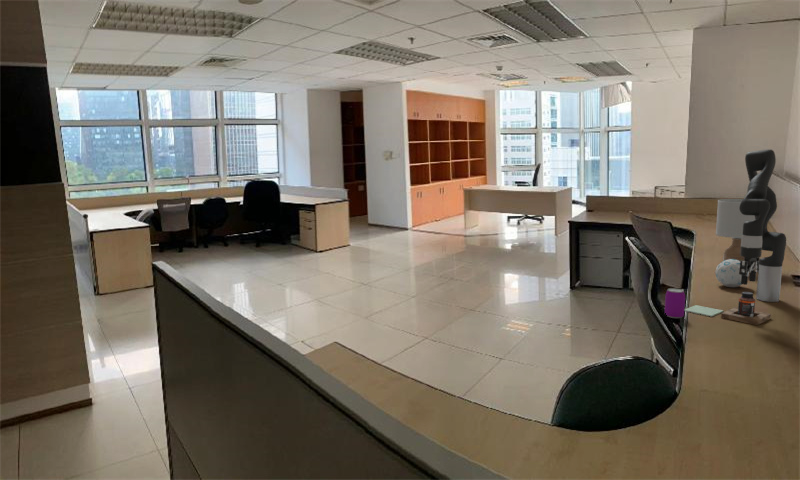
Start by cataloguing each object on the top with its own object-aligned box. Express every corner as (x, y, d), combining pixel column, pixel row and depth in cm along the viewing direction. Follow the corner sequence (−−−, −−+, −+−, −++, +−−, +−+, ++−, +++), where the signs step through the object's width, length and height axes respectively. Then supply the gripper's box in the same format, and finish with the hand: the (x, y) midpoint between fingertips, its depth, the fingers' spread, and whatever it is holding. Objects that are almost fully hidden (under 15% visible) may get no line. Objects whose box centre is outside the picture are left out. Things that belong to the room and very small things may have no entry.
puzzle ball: (742, 291, 271) (744, 263, 269) (710, 286, 282) (712, 259, 280) (751, 286, 281) (753, 259, 278) (720, 282, 292) (722, 255, 290)
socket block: (734, 311, 237) (734, 307, 237) (770, 318, 226) (770, 314, 226) (721, 317, 229) (721, 313, 229) (757, 325, 218) (758, 320, 217)
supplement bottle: (756, 320, 224) (758, 294, 222) (740, 319, 225) (743, 294, 223) (750, 316, 230) (752, 291, 228) (735, 315, 231) (737, 290, 229)
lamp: (768, 271, 316) (774, 201, 309) (728, 272, 316) (733, 202, 310) (742, 263, 339) (748, 198, 333) (705, 264, 340) (710, 199, 333)
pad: (695, 306, 247) (695, 305, 247) (723, 311, 237) (723, 310, 237) (683, 311, 240) (683, 309, 239) (711, 316, 230) (711, 315, 230)
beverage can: (668, 312, 238) (669, 287, 236) (686, 316, 232) (688, 289, 230) (661, 316, 232) (663, 290, 231) (680, 320, 227) (682, 293, 225)
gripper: (748, 242, 230) (745, 278, 232) (734, 246, 221) (731, 283, 224) (767, 244, 224) (764, 281, 226) (754, 248, 216) (751, 286, 218)
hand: (748, 282), depth 225 cm, fingers open, 8 cm apart
